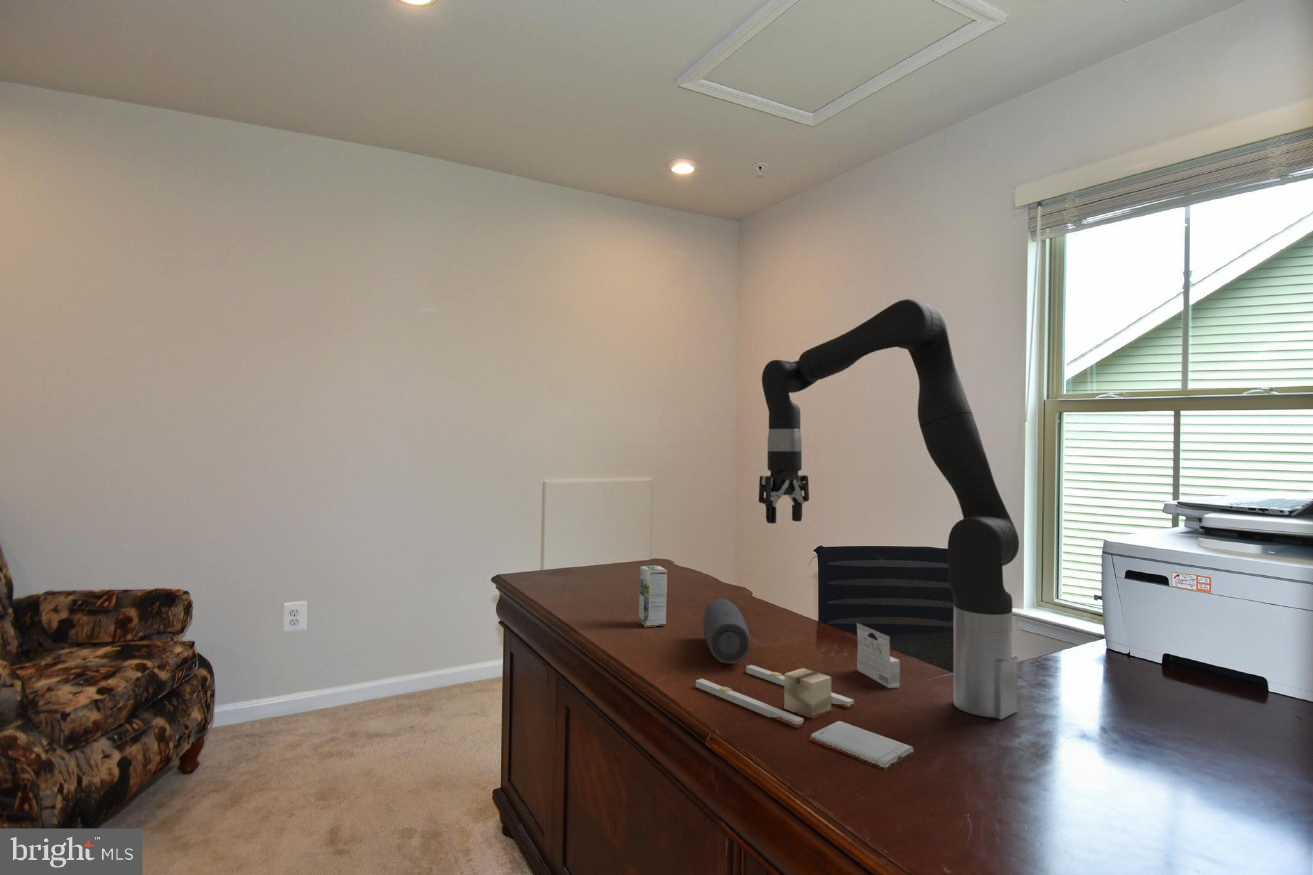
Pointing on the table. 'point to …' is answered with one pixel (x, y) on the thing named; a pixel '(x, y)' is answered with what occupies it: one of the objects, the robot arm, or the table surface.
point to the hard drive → (863, 743)
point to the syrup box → (652, 595)
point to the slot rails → (758, 705)
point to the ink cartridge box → (877, 657)
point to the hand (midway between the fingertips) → (784, 522)
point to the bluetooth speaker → (725, 631)
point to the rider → (807, 691)
